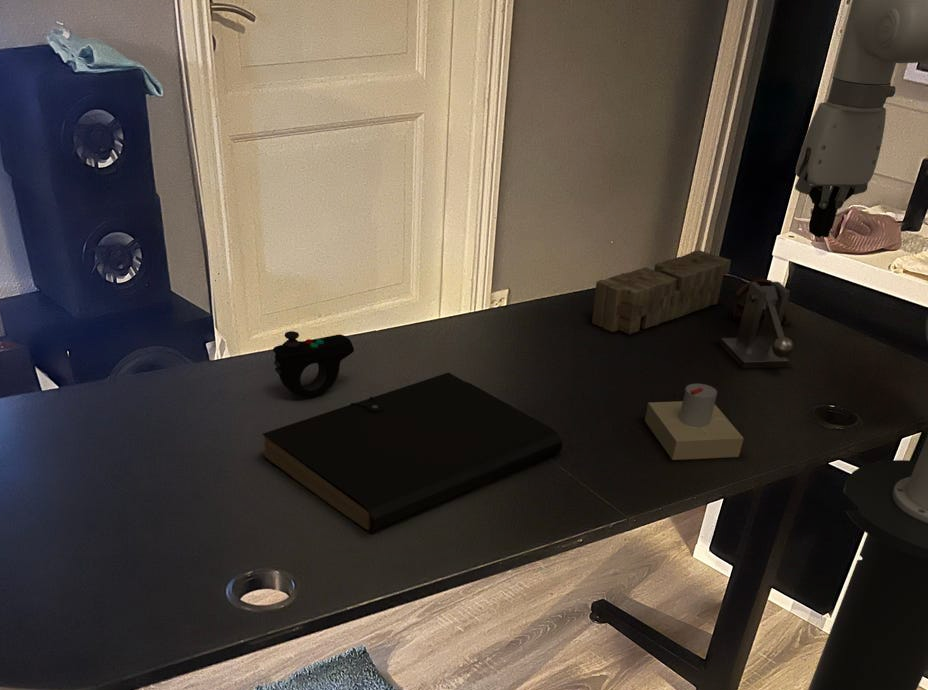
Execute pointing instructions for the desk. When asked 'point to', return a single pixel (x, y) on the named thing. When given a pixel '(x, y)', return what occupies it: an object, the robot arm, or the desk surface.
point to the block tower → (659, 292)
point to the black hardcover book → (408, 448)
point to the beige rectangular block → (692, 433)
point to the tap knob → (698, 404)
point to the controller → (310, 362)
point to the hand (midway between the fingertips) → (818, 234)
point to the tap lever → (776, 324)
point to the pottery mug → (740, 305)
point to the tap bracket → (747, 345)
